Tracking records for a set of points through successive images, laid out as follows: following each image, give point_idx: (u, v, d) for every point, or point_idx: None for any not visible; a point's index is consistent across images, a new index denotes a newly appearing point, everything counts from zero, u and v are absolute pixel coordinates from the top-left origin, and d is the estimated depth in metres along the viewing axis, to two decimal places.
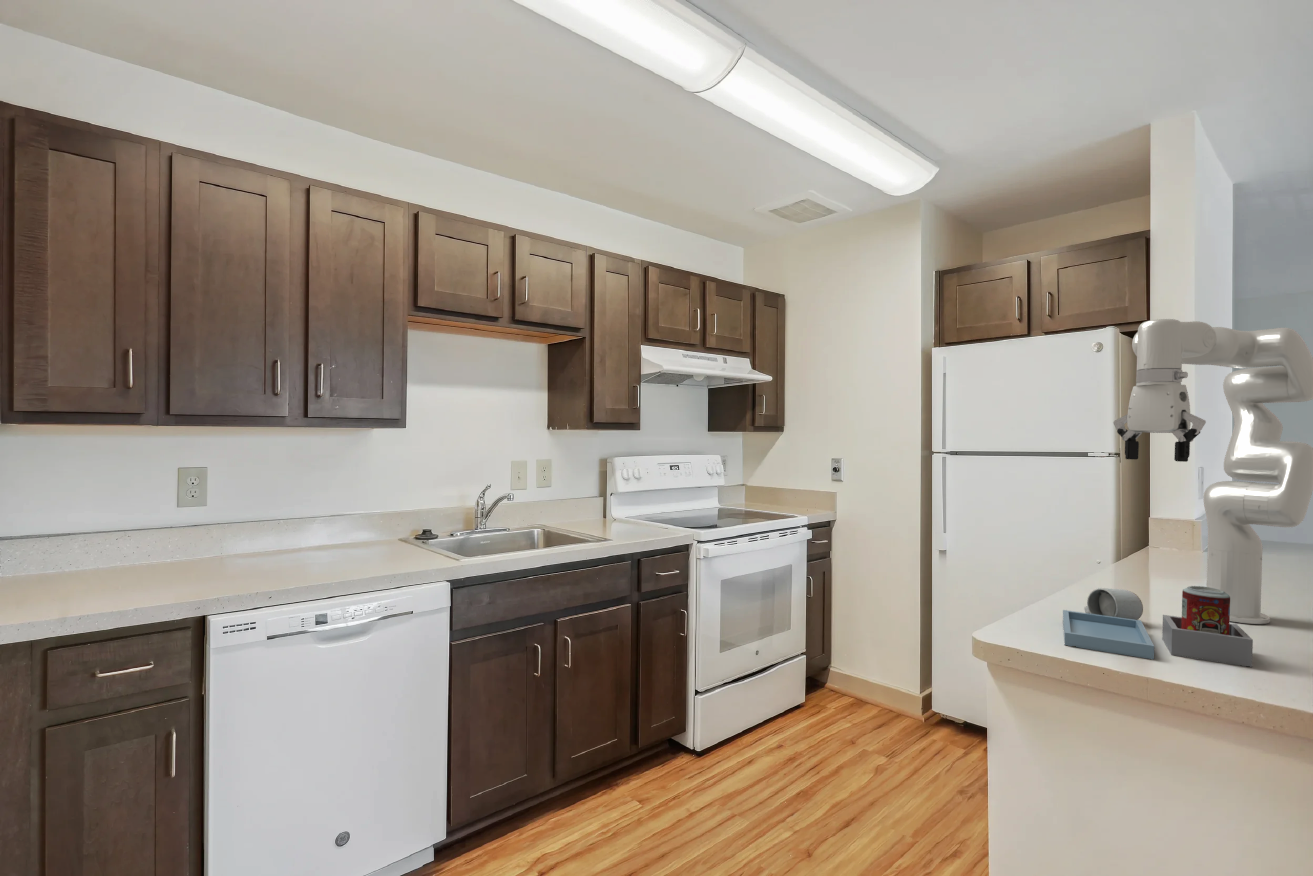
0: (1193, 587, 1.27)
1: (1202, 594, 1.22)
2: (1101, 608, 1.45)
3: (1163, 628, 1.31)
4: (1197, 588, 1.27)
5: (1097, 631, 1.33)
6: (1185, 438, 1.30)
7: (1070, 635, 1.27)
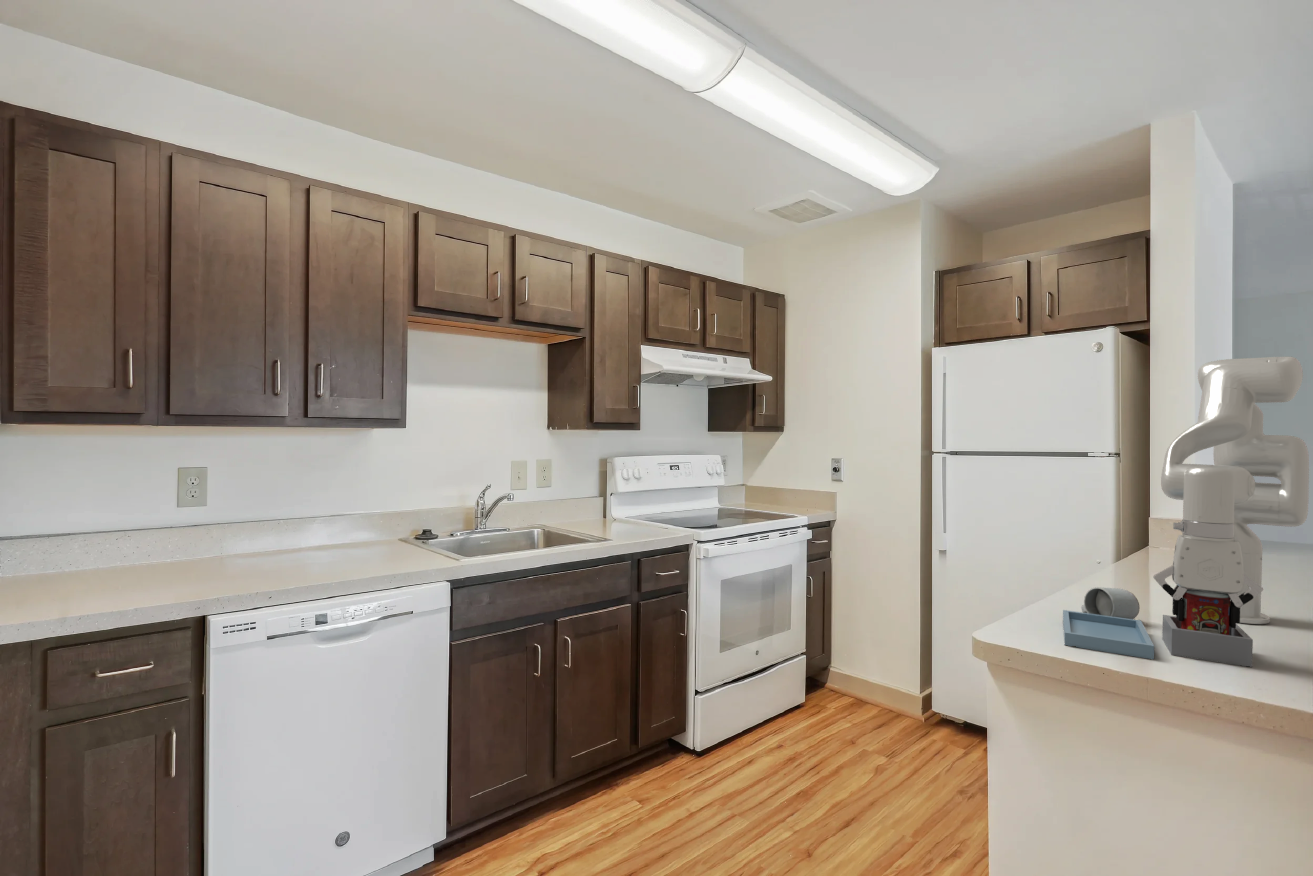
0: None
1: (1202, 594, 1.22)
2: (1098, 607, 1.46)
3: (1163, 628, 1.31)
4: None
5: (1097, 631, 1.33)
6: None
7: (1070, 635, 1.27)
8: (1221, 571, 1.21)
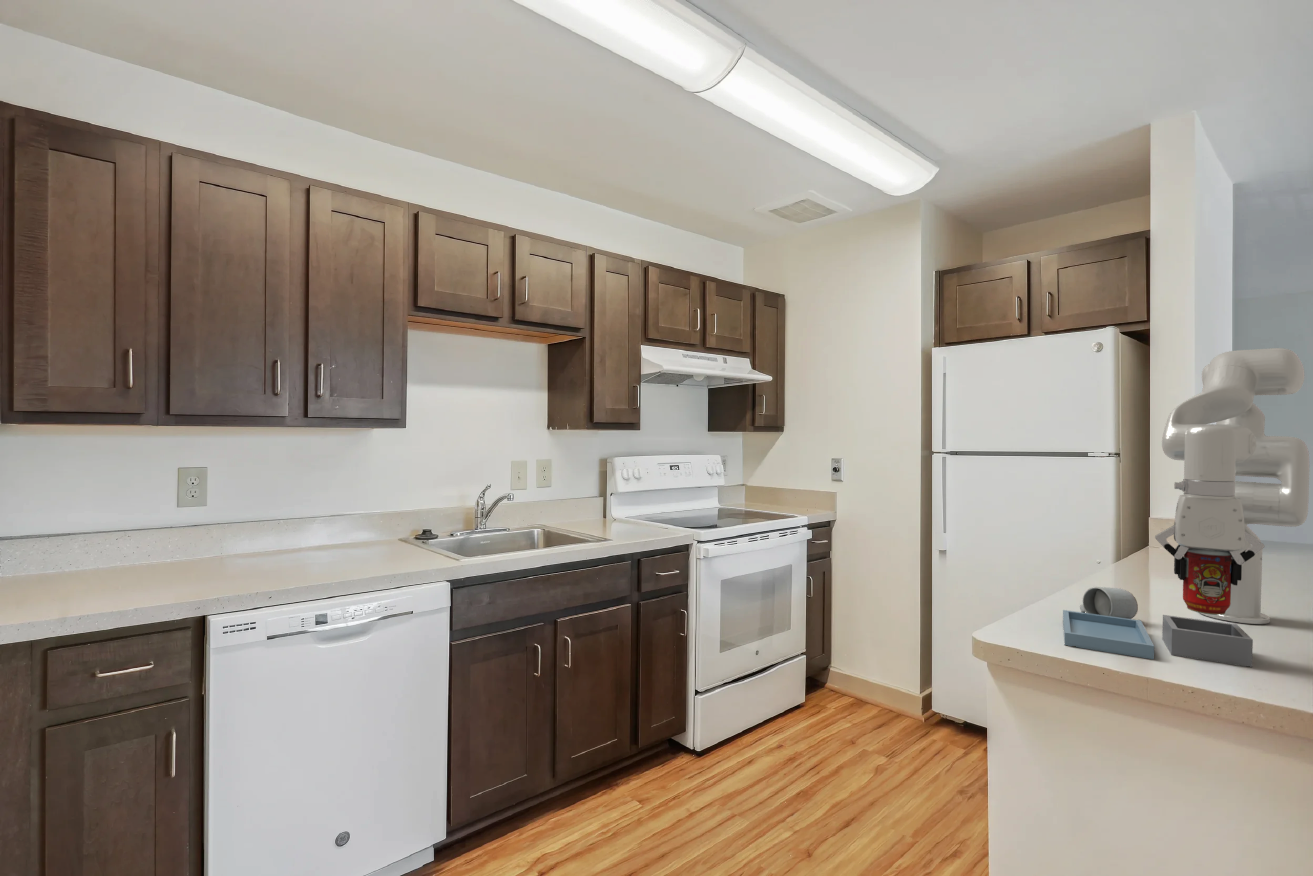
0: None
1: (1203, 552, 1.23)
2: (1096, 606, 1.47)
3: (1163, 628, 1.31)
4: None
5: (1097, 631, 1.33)
6: None
7: (1070, 635, 1.27)
8: (1222, 529, 1.21)
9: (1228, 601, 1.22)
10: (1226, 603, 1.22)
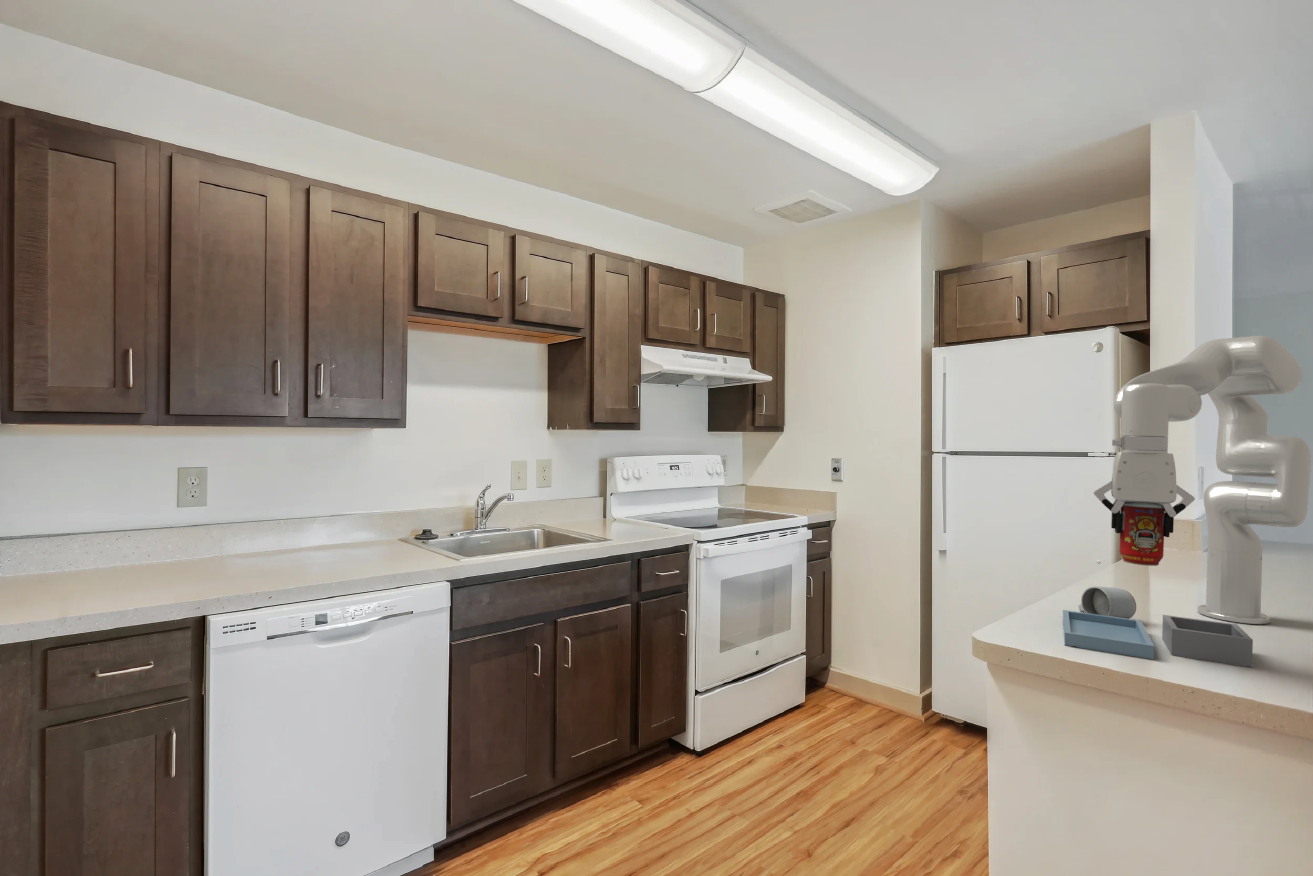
0: None
1: (1138, 505, 1.27)
2: (1095, 606, 1.47)
3: (1163, 628, 1.31)
4: None
5: (1097, 631, 1.33)
6: None
7: (1070, 635, 1.27)
8: (1156, 482, 1.26)
9: (1161, 552, 1.26)
10: (1159, 554, 1.26)
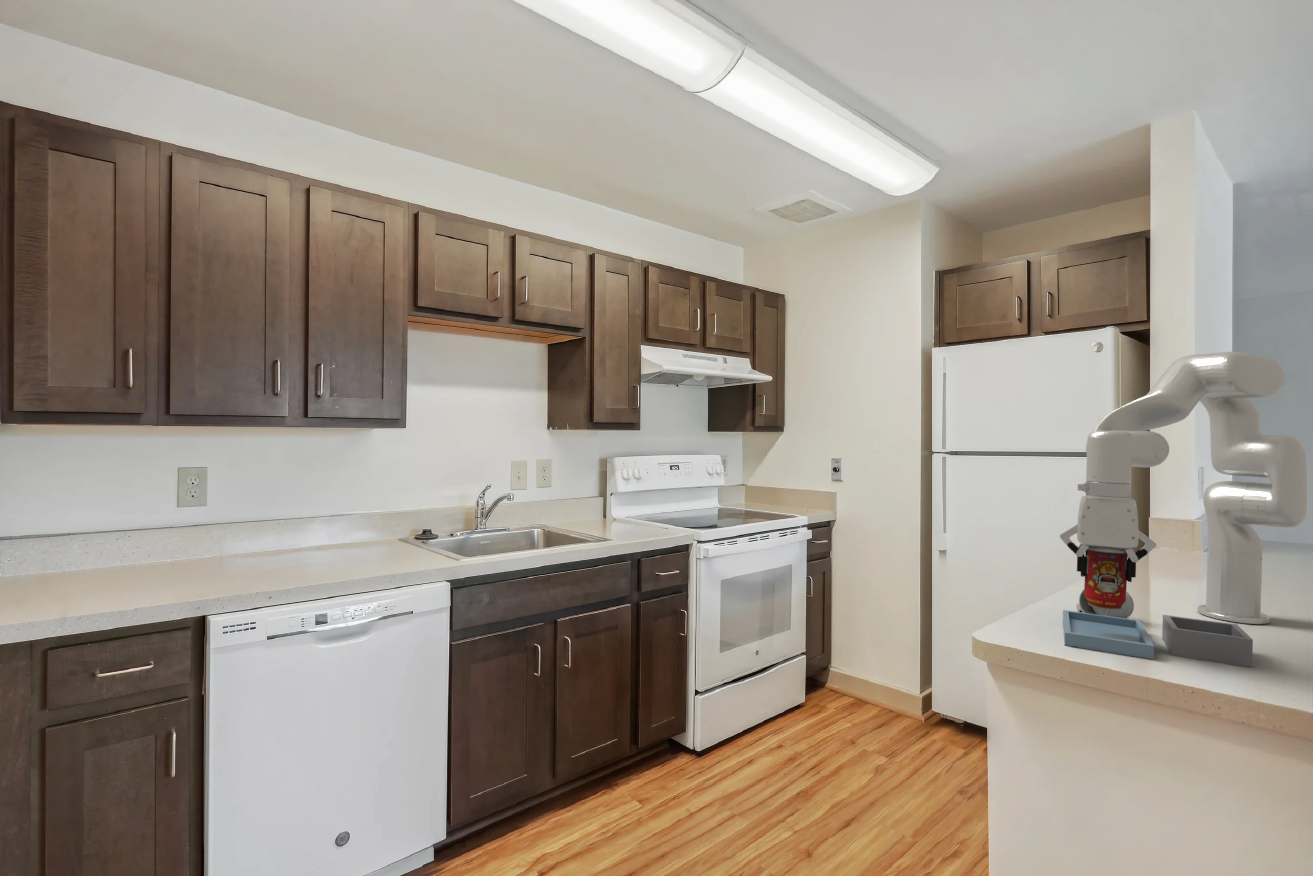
0: None
1: (1101, 550, 1.30)
2: None
3: (1163, 628, 1.31)
4: None
5: (1097, 631, 1.33)
6: None
7: (1070, 635, 1.27)
8: (1118, 528, 1.29)
9: (1123, 597, 1.29)
10: (1121, 598, 1.29)
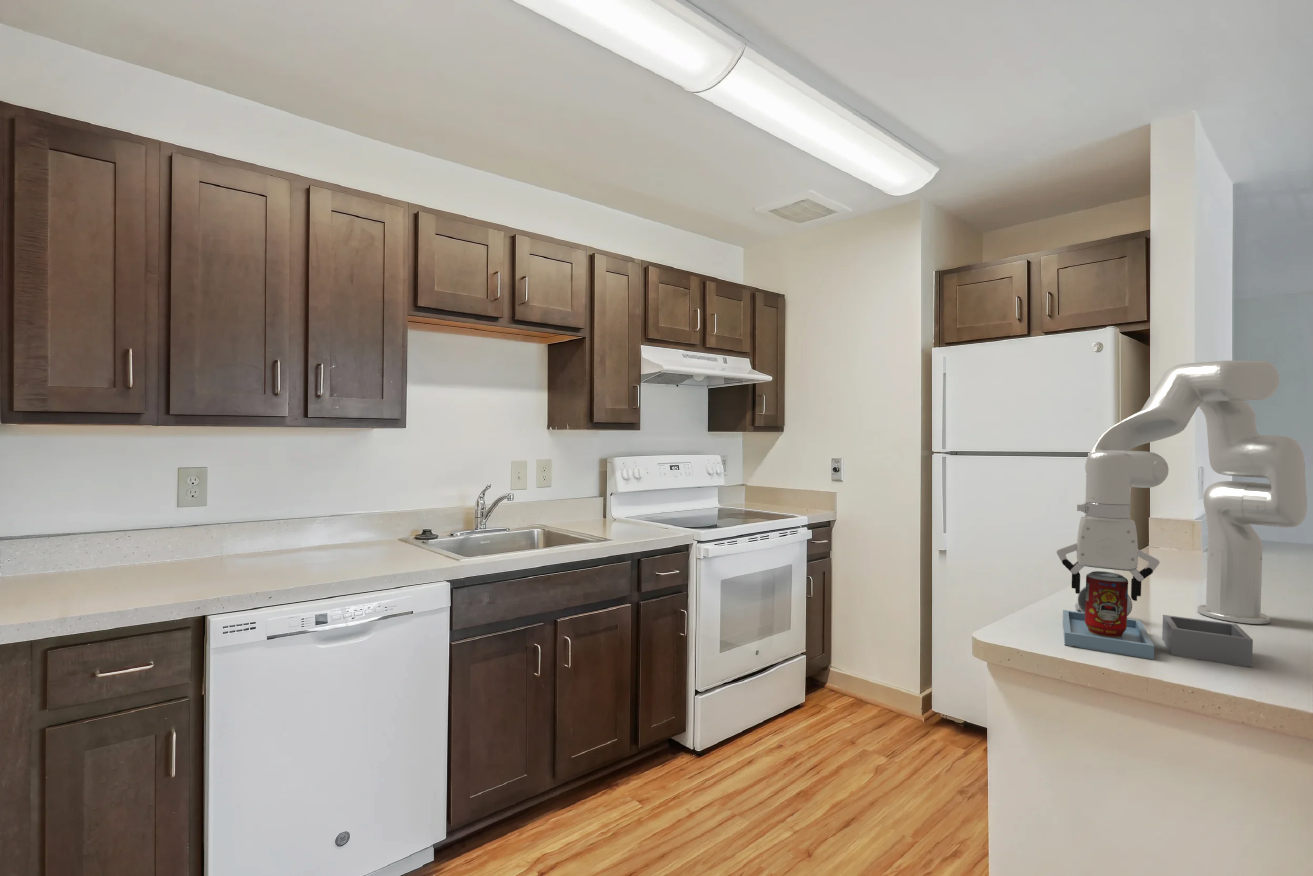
0: (1096, 572, 1.34)
1: (1101, 578, 1.30)
2: None
3: (1163, 628, 1.31)
4: (1100, 573, 1.34)
5: None
6: None
7: (1070, 635, 1.27)
8: (1117, 549, 1.29)
9: (1124, 625, 1.29)
10: (1122, 627, 1.29)
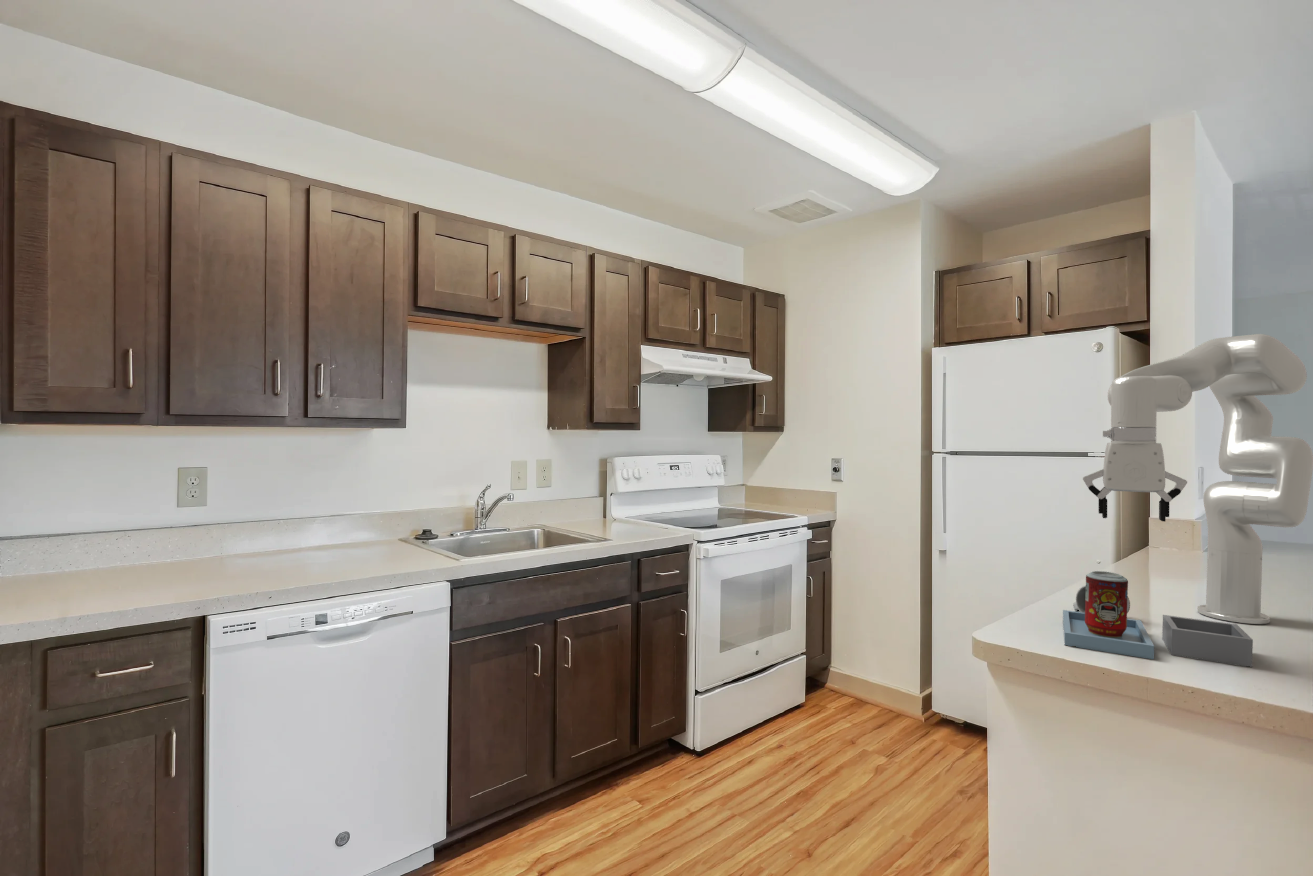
0: (1096, 572, 1.34)
1: (1101, 578, 1.30)
2: None
3: (1163, 628, 1.31)
4: (1100, 573, 1.34)
5: None
6: None
7: (1070, 635, 1.27)
8: (1145, 471, 1.30)
9: (1123, 625, 1.29)
10: (1122, 627, 1.29)
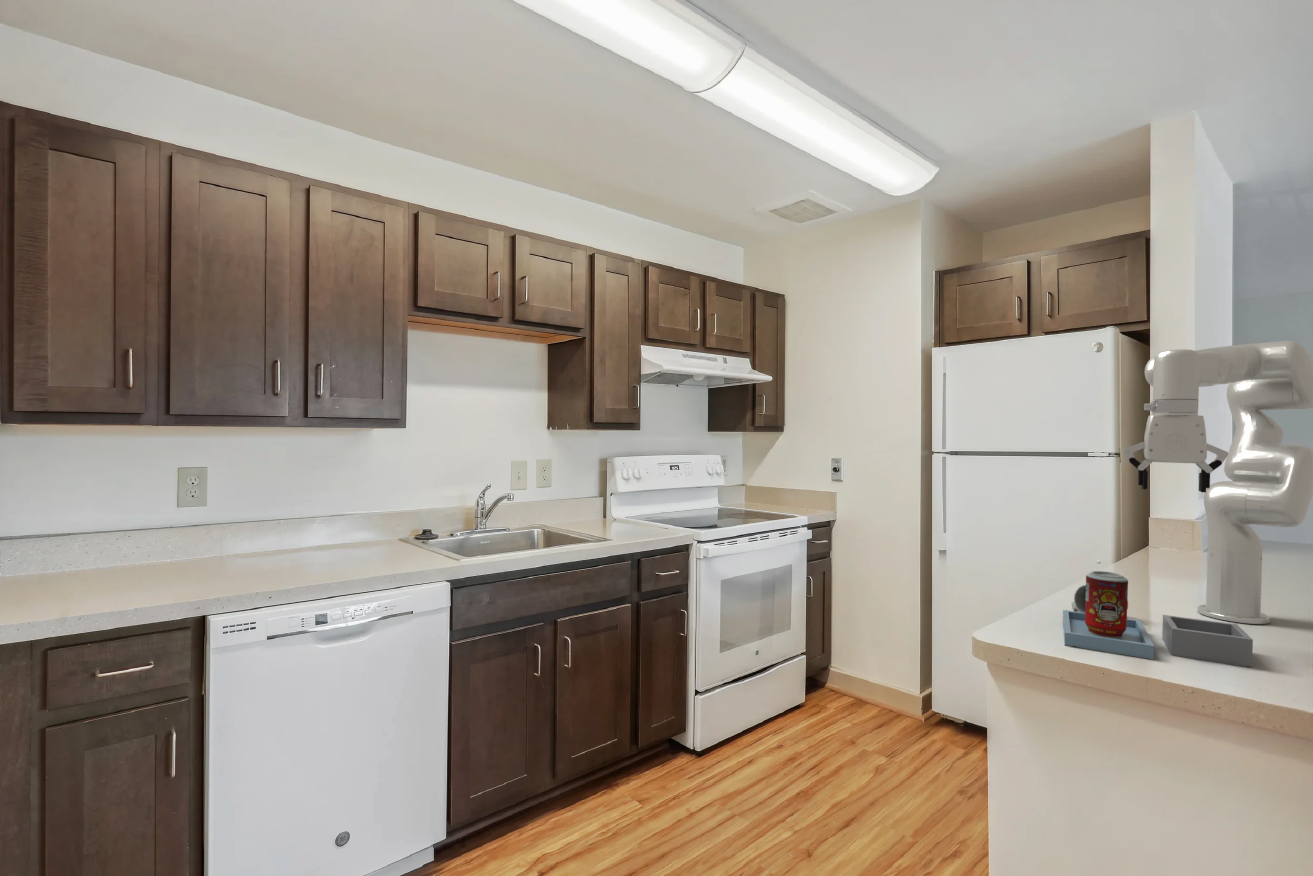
0: (1096, 572, 1.34)
1: (1101, 578, 1.30)
2: None
3: (1163, 628, 1.31)
4: (1100, 573, 1.34)
5: None
6: None
7: (1070, 635, 1.27)
8: (1186, 443, 1.33)
9: (1123, 625, 1.29)
10: (1122, 627, 1.29)
